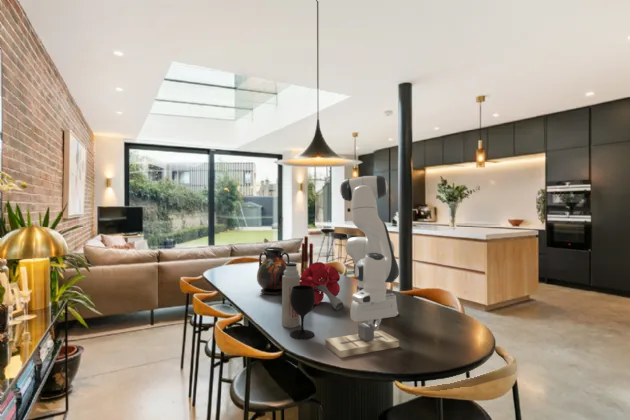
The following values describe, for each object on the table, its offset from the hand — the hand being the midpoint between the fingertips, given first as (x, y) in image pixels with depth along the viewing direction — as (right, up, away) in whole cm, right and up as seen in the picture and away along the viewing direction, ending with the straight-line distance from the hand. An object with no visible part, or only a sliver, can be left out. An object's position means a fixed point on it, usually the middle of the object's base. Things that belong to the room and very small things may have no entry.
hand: (374, 329), depth 137 cm
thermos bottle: (-35, -5, +22) cm, 41 cm away
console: (-5, -6, -2) cm, 8 cm away
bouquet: (-20, -5, +55) cm, 59 cm away
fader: (-3, -3, -1) cm, 5 cm away
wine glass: (-29, -6, +9) cm, 31 cm away
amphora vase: (-49, -5, +81) cm, 95 cm away
